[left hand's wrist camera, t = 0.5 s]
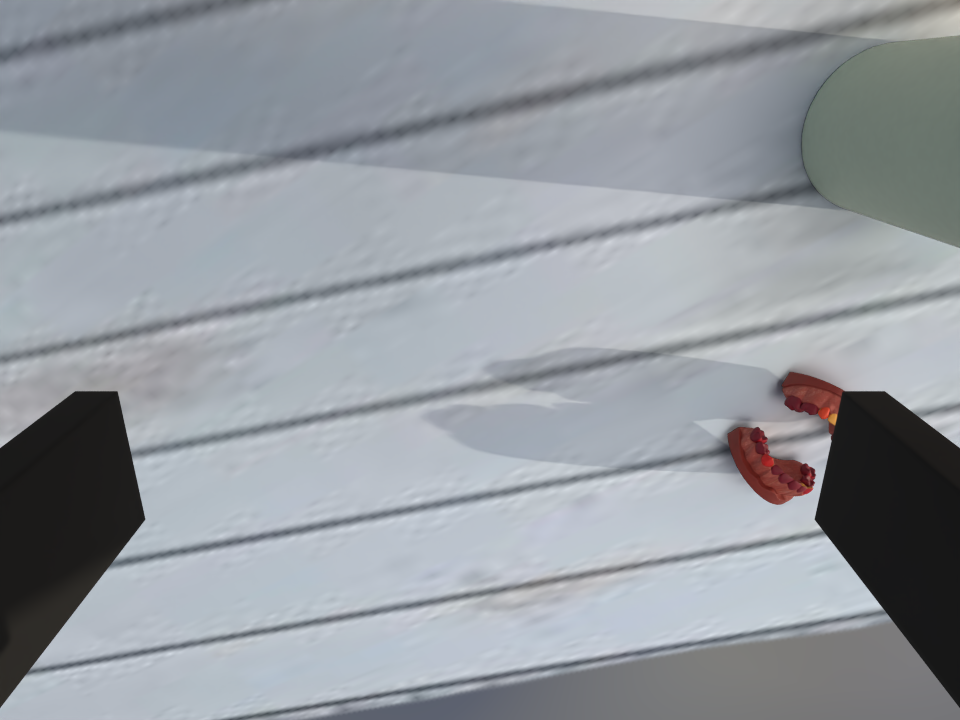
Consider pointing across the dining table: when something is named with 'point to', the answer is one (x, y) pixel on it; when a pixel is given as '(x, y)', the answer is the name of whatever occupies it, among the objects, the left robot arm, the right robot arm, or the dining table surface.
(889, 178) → the jar
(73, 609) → the left robot arm
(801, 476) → the dental model
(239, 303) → the dining table surface
